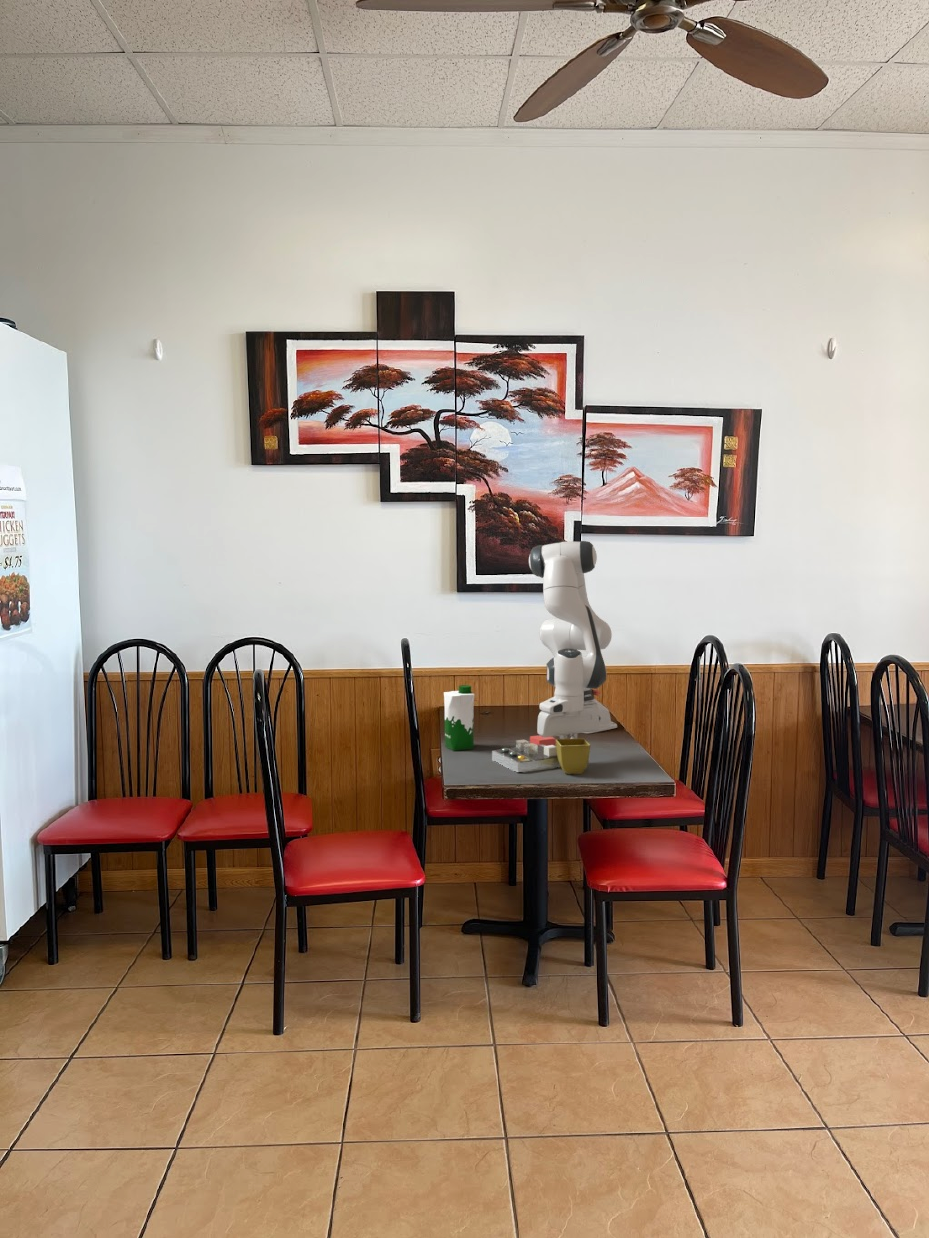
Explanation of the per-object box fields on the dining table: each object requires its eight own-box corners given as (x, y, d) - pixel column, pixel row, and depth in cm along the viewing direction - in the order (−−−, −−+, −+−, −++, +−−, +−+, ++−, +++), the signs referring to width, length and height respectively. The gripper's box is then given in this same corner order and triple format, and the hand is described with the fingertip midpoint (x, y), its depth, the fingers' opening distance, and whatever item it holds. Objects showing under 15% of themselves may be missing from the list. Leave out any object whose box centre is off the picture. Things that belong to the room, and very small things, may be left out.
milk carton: (477, 749, 293) (477, 687, 291) (451, 752, 290) (451, 690, 287) (466, 743, 301) (466, 683, 299) (441, 745, 298) (440, 685, 295)
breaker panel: (542, 753, 287) (542, 735, 287) (570, 765, 273) (570, 747, 272) (492, 760, 279) (492, 742, 279) (517, 773, 265) (517, 754, 264)
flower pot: (554, 768, 270) (555, 738, 269) (583, 767, 271) (584, 737, 270) (560, 776, 262) (560, 745, 261) (590, 775, 262) (590, 745, 261)
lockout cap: (545, 745, 297) (545, 734, 297) (555, 750, 292) (555, 738, 291) (529, 748, 294) (529, 736, 294) (539, 752, 289) (539, 740, 289)
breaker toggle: (552, 753, 275) (552, 744, 275) (557, 755, 272) (557, 747, 272) (543, 754, 274) (543, 746, 273) (549, 756, 271) (549, 748, 271)
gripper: (591, 698, 281) (591, 742, 283) (534, 704, 272) (534, 749, 274) (603, 702, 276) (603, 746, 277) (545, 708, 267) (545, 754, 268)
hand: (568, 748), depth 276 cm, fingers closed
